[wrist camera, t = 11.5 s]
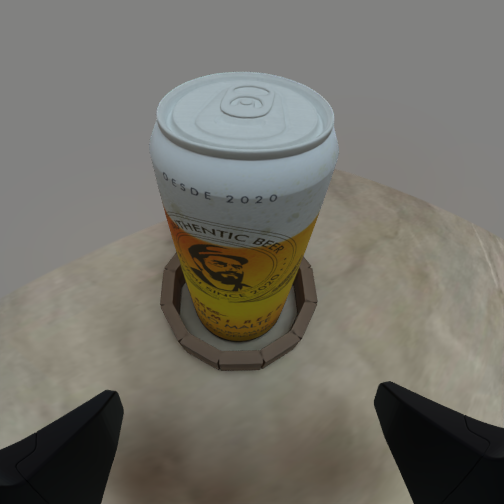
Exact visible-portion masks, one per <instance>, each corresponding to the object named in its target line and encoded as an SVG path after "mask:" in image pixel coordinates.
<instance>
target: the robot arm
mask: <svg viewBox="0 0 504 504" xmlns="http://www.w3.org/2000/svg"><path fill="white" fill-rule="evenodd" d="M374 406H375V409H376V412H377V415H378V418H379V422H380V425H381V428H382V431H383V434H384V437H385V439H386V442H387V444H388V446H389V448H390V450H391V453H392V455H393V457H394V459H395V461H396V464H397V466H398V468H399V470H400V473H401V475H402V477H403V480H404V482H405V484H406V486H407V489H408V491H409V494H410V496H411V498H412V501H413V503H414V504H504V428H501V427H497V426H494V425H490V424H487V423H484V422H481V421H479V420H476V419H473V418H471V417H469V416H466V415H463V414H461V413H459V412H457V411H454V410H452V409H450V408H447V407H445V406H443V405H441V404H438V403H436V402H434V401H432V400H430V399H427V398H425V397H423V396H421V395H419V394H416V393H414V392H412V391H410V390H408V389H406V388H404V387H402V386H400V385H397V384H395V383H393V382H391V381H388V382H383V383H380V384H379V386H378V389H377V393H376V396H375V399H374ZM123 414H124V410H123V406H122V403H121V400H120V397H119V394H118V392H116V391H112V390H105V391H103V392H102V393H100V394H98V395H97V396H95V397H94V398H92V399H90V400H89V401H87V402H85V403H84V404H82V405H81V406H79V407H77V408H76V409H74V410H72V411H71V412H69V413H67V414H66V415H64V416H63V417H61V418H59V419H58V420H56V421H54V422H52V423H51V424H49V425H47V426H46V427H44V428H42V429H41V430H39V431H37V433H34V434H32V435H30V436H28V437H26V438H25V439H23V440H21V441H19V442H17V443H15V444H12V445H10V446H8V447H6V448H3V449H1V450H0V504H101V502H102V498H103V494H104V491H105V487H106V484H107V480H108V477H109V473H110V470H111V466H112V463H113V460H114V457H115V453H116V450H117V446H118V440H119V435H120V430H121V425H122V420H123Z"/></svg>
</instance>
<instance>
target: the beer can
mask: <svg viewBox="0 0 504 504" xmlns="http://www.w3.org/2000/svg"><path fill="white" fill-rule="evenodd" d="M156 116H157V120H156V123H155V126H154V129H153V132H152V135H151V138H150V144H149V150H150V155H151V160H152V164H153V168H154V172H155V176H156V180H157V184H158V188H159V192H160V196H161V199H162V203H163V207H164V210H165V214H166V218H167V221H168V225H169V228H170V231H171V235H172V238H173V242H174V245H175V248H176V251H177V255H178V258H179V261H180V264H181V267H182V270H183V274H184V277H185V280H186V283H187V286H188V289H189V292H190V295H191V298H192V300H193V303H194V306H195V309H196V312H197V314H198V317H199V319H200V320H201V322H202V323H203V325H204V326H205V327H206V328H207V329H208V330H209V331H211V332H212V333H213V334H215V335H217V336H219V337H221V338H224V339H227V340H232V341H247V340H251V339H254V338H257V337H259V336H261V335H263V334H265V333H266V332H267V331H269V330H270V329H271V328H272V327H273V326H274V324H275V323H276V322H277V320H278V318H279V316H280V314H281V311H282V309H283V306H284V304H285V301H286V299H287V296H288V294H289V291H290V289H291V286H292V284H293V281H294V279H295V276H296V274H297V271H298V269H299V266H300V263H301V261H302V258H303V256H304V253H305V250H306V248H307V245H308V242H309V240H310V237H311V234H312V231H313V229H314V226H315V223H316V220H317V218H318V215H319V212H320V209H321V206H322V204H323V201H324V198H325V195H326V192H327V189H328V186H329V183H330V180H331V177H332V174H333V171H334V168H335V165H336V162H337V159H338V154H339V147H338V142H337V137H336V133H335V130H334V112H333V110H332V108H331V106H330V104H329V103H328V102H327V101H326V100H325V99H324V98H323V97H322V96H321V95H320V94H318V93H317V92H315V91H314V90H312V89H311V88H309V87H307V86H305V85H303V84H301V83H298V82H296V81H293V80H290V79H287V78H283V77H280V76H275V75H270V74H264V73H254V72H227V73H218V74H212V75H208V76H203V77H200V78H196V79H193V80H191V81H188V82H186V83H183V84H182V85H179V86H178V87H176V88H174V89H173V90H171V91H170V92H169V93H168V94H166V95H165V97H163V99H162V100H161V101H160V103H159V105H158V107H157V112H156Z"/></svg>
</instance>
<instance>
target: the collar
mask: <svg viewBox="0 0 504 504" xmlns="http://www.w3.org/2000/svg"><path fill="white" fill-rule="evenodd" d="M310 267H311V265H310V264H309V263H308V261H307V260H306V259H305V258H304V257H303V258H302V261H301V263H300V266H299V269H298V271H297V274H296V276H295V279H294V281H293V285H294V288H295V296H296V304H297V312H298V315H297V317H296V319H295V321H294V323H293V325H292V327H291V329H290V331H289V332H288V333H287V334H285V335H284V336H282V337H281V338H279V339H277V340H276V341H274V342H273V343H271V344H269V345H268V346H266V347H264V348H263V349H261V350H252V351H220V350H218V349H217V348H215V347H213V346H211V345H209V344H207V343H206V342H204V341H202V340H200V339H199V338H197V337H195V336H193V335H192V334H190V333H188V331H187V329H186V327H185V325H184V323H183V322H182V320H181V318H180V316H179V315H180V299H181V287H182V286H183V285H184V283H185V282H186V280H185V277H184V274H183V270H182V267H181V264H180V261H179V258H178V255H177V252H176V253H175V255H174V256H173V257H172V259H171V260H170V261H169V263H168V264H167V265H166V267H165V269H166V270H164V273H163V281H162V291H161V301H160V305H161V309H162V311H163V313H164V315H165V317H166V319H167V321H168V323H169V324H170V326H171V328H172V330H173V332H174V334H175V336H176V338H177V340H178V341H179V343H180V344H181V345H182V347H183V348H184V349H185V350H186V351H187V352H188V353H190V354H192V355H193V356H195V357H197V358H198V359H200V360H202V361H204V362H205V363H207V364H209V365H211V366H213V367H214V368H216V369H218V370H219V369H220V368H221V371H234V370H260V368H262V369H263V368H264V367H266V366H268V365H269V364H271V363H272V362H274V361H276V360H277V359H279V358H280V357H282V356H283V355H285V354H287V353H288V352H290V351H291V350H293V348H294V347H295V346H296V345H297V344H298V342H299V341H300V340H301V339H302V337H303V335H304V333H305V331H306V328H307V326H308V324H309V322H310V320H311V317H312V315H313V313H314V311H315V308H316V306H317V304H316V303H317V302H318V301H317V295H316V289H315V282H314V276H313V270H312V268H310Z"/></svg>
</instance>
